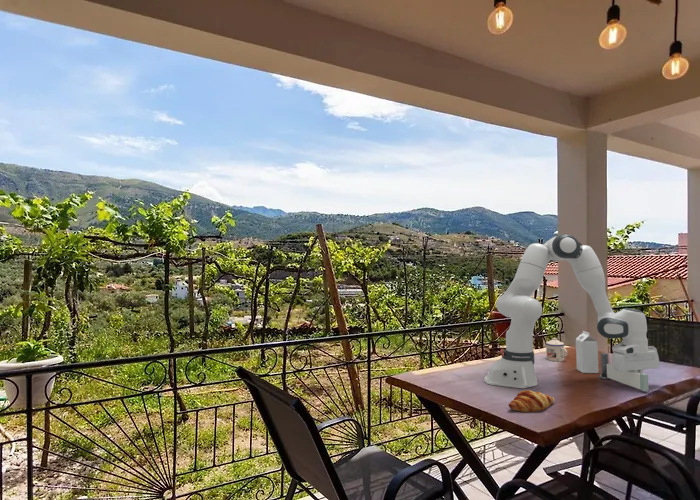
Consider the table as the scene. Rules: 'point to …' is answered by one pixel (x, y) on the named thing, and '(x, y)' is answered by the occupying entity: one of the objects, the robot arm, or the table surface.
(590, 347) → the milk carton
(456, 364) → the table surface
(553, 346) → the teacup with lid
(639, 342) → the robot arm
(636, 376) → the gate
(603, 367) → the hinge post
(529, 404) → the croissant
